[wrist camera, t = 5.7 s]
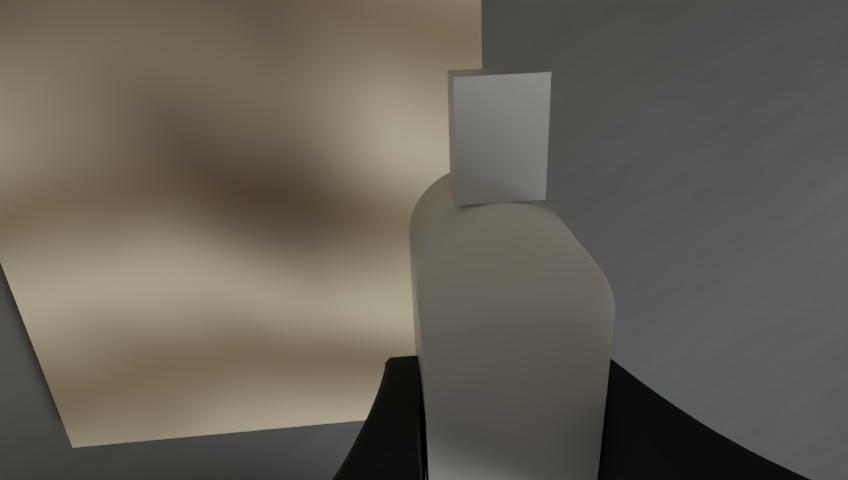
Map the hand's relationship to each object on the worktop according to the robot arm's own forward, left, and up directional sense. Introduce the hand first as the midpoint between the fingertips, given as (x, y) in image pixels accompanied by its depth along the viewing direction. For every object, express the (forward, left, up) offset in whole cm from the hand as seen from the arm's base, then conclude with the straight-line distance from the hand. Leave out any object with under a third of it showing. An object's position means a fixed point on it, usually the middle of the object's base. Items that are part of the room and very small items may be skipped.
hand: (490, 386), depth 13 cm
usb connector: (+1, 0, -2) cm, 2 cm away
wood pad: (+2, +7, -9) cm, 11 cm away
